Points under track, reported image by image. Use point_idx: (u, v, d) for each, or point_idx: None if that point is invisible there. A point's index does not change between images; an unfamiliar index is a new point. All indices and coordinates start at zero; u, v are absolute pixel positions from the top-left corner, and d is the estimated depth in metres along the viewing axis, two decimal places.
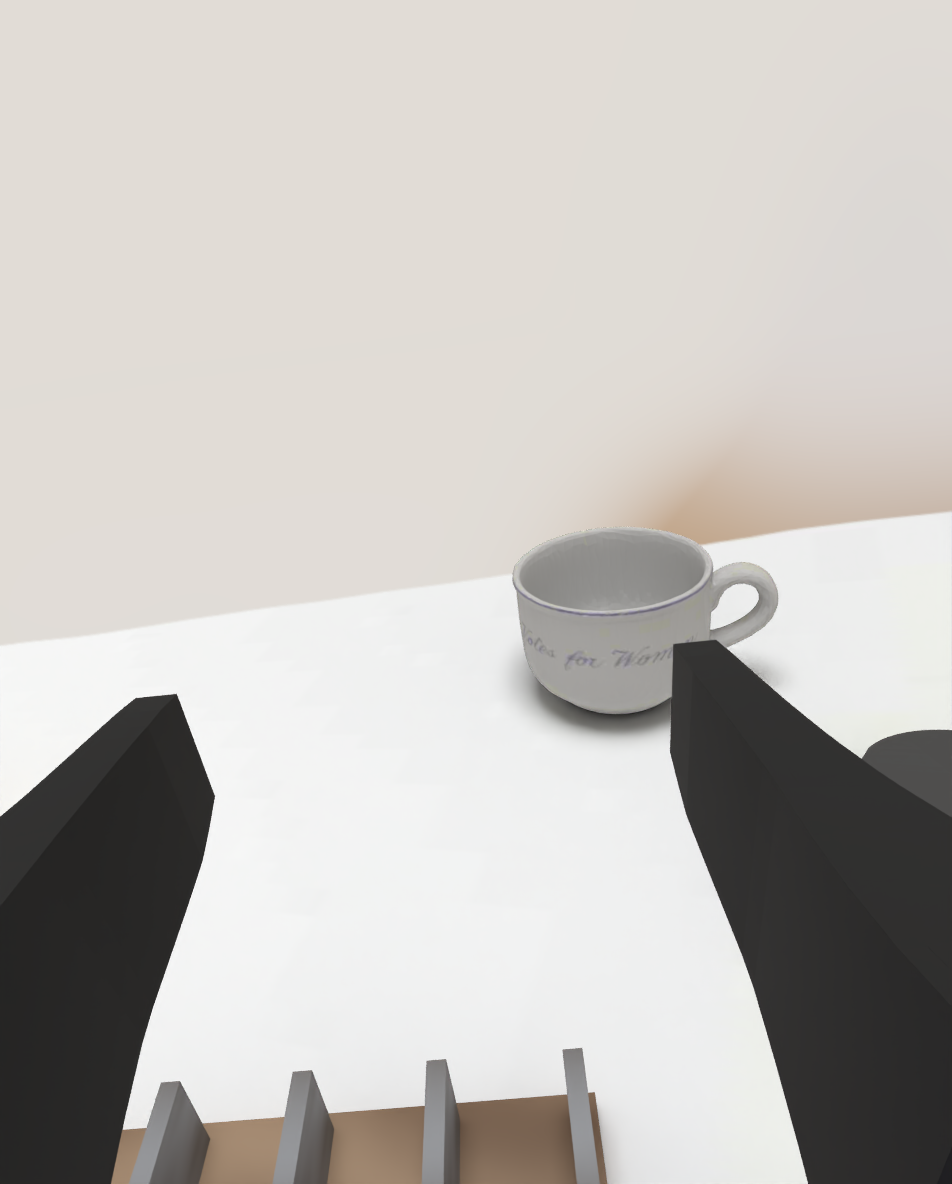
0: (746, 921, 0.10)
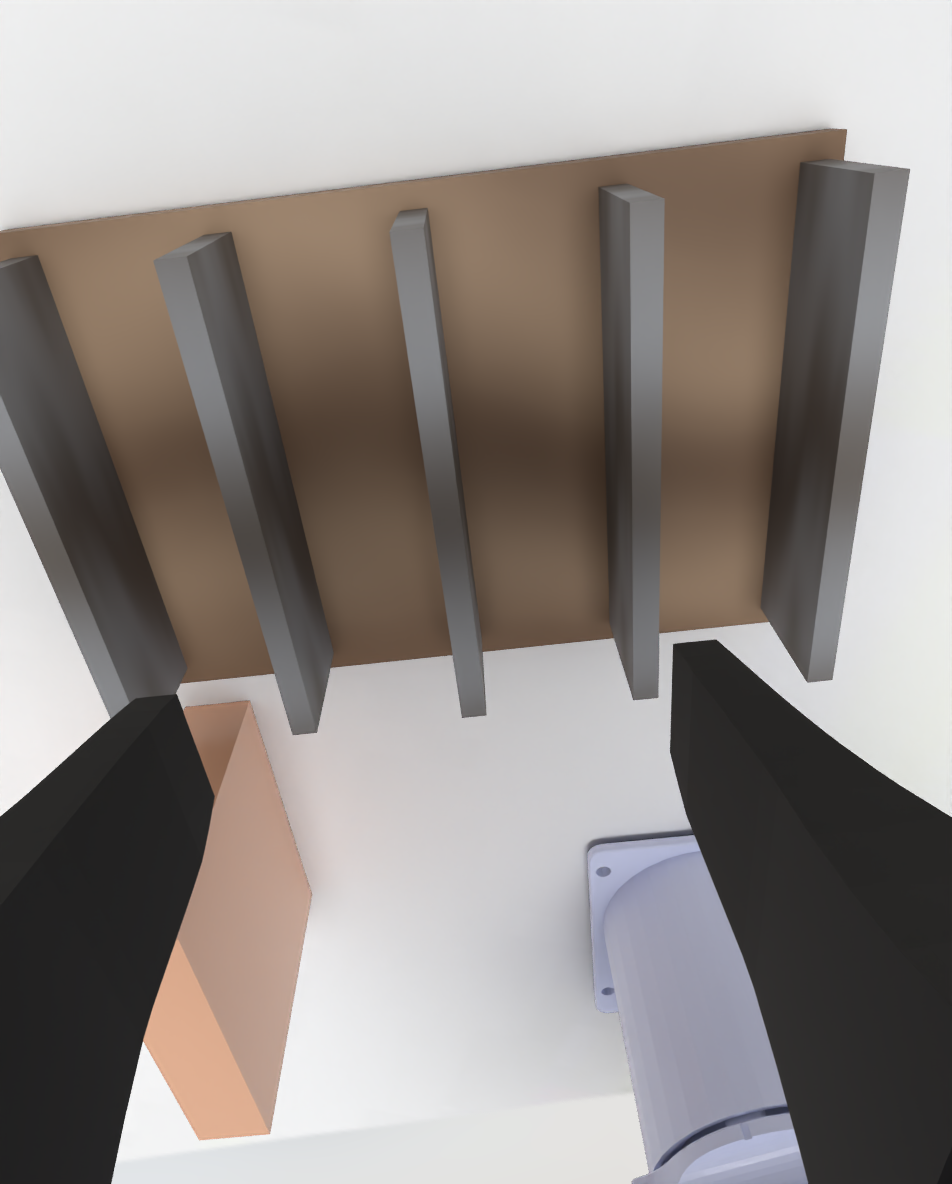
0: (746, 921, 0.10)
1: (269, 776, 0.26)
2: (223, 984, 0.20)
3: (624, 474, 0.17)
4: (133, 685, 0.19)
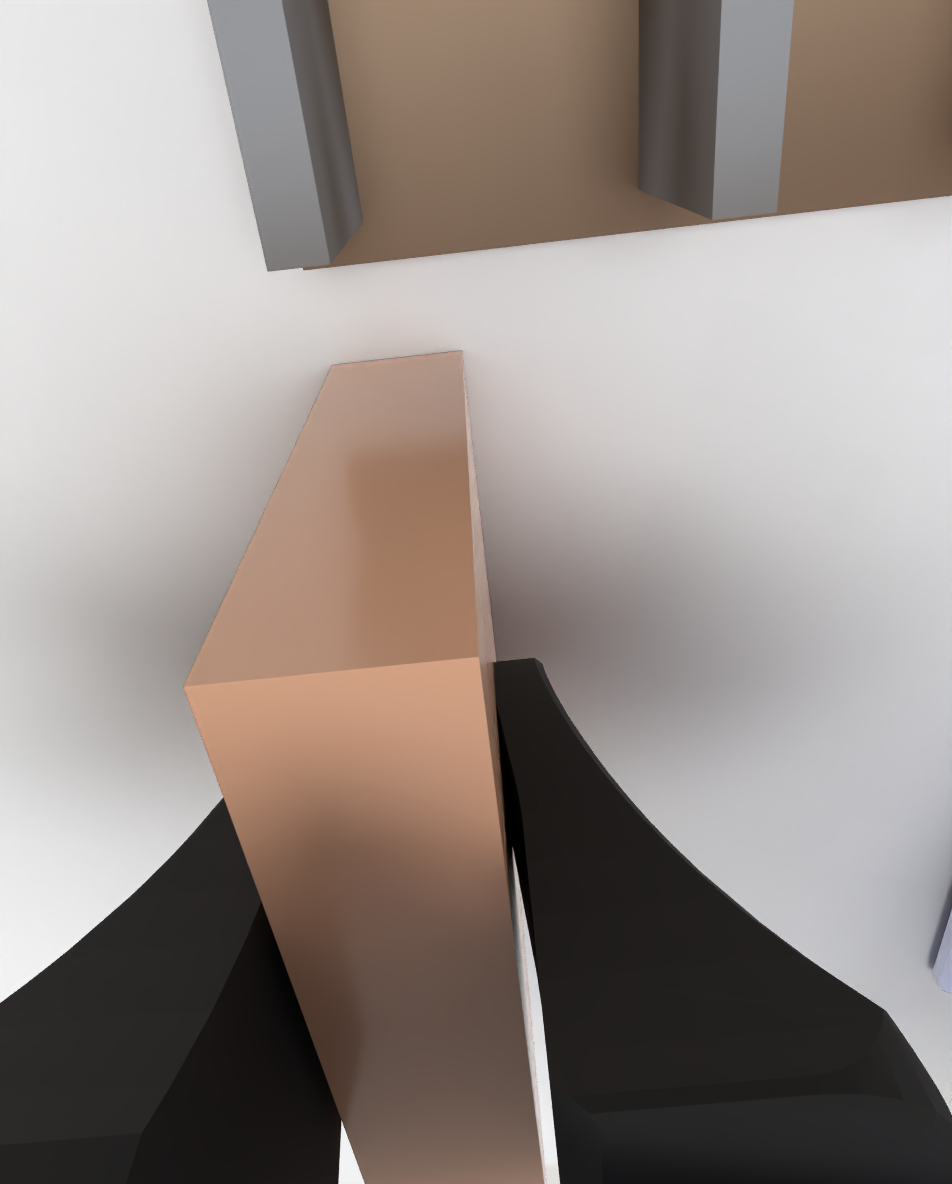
0: (533, 940, 0.10)
1: (481, 527, 0.13)
2: (511, 890, 0.08)
3: None
4: (300, 55, 0.07)
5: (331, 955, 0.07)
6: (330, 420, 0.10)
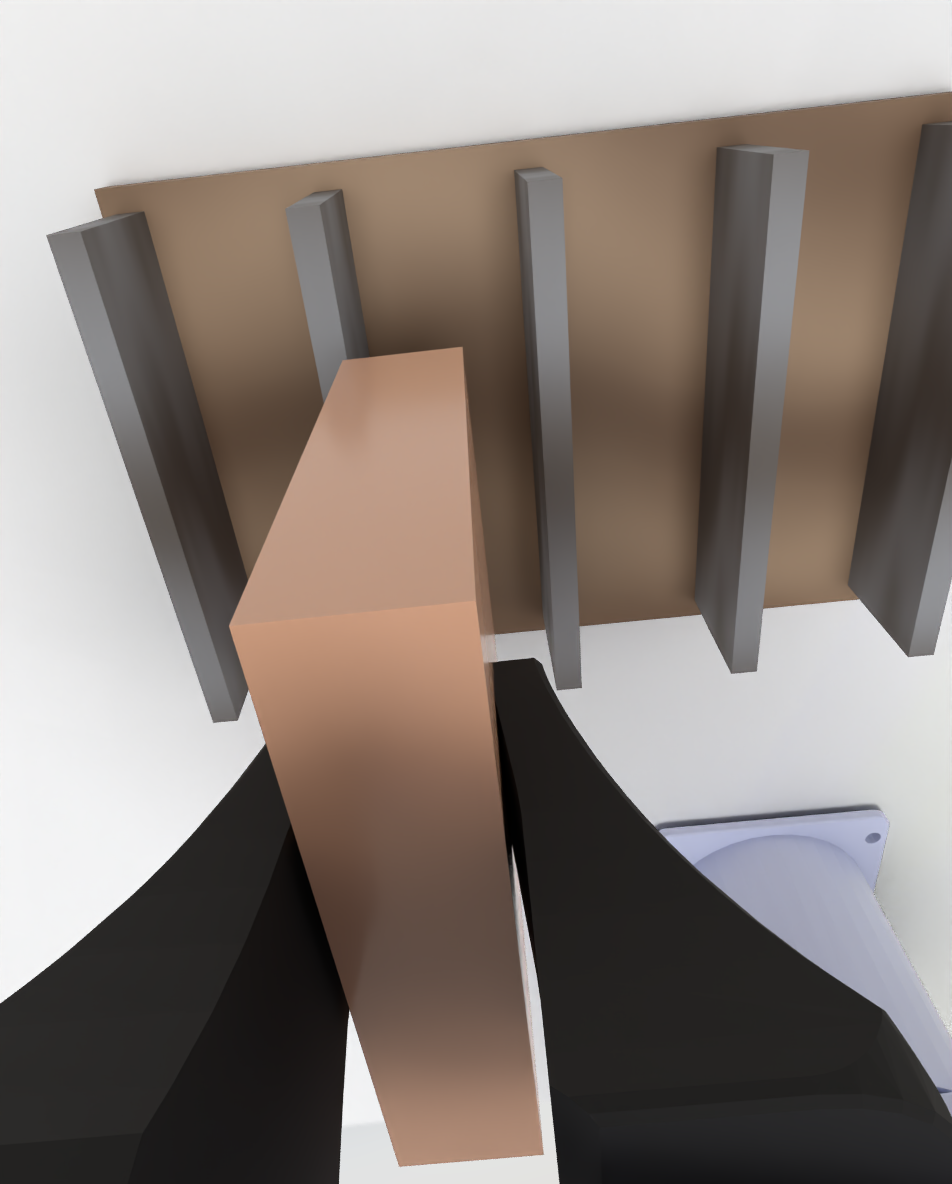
0: (533, 941, 0.10)
1: (480, 511, 0.14)
2: (505, 820, 0.09)
3: (736, 440, 0.17)
4: (224, 654, 0.19)
5: (350, 870, 0.08)
6: (343, 409, 0.11)
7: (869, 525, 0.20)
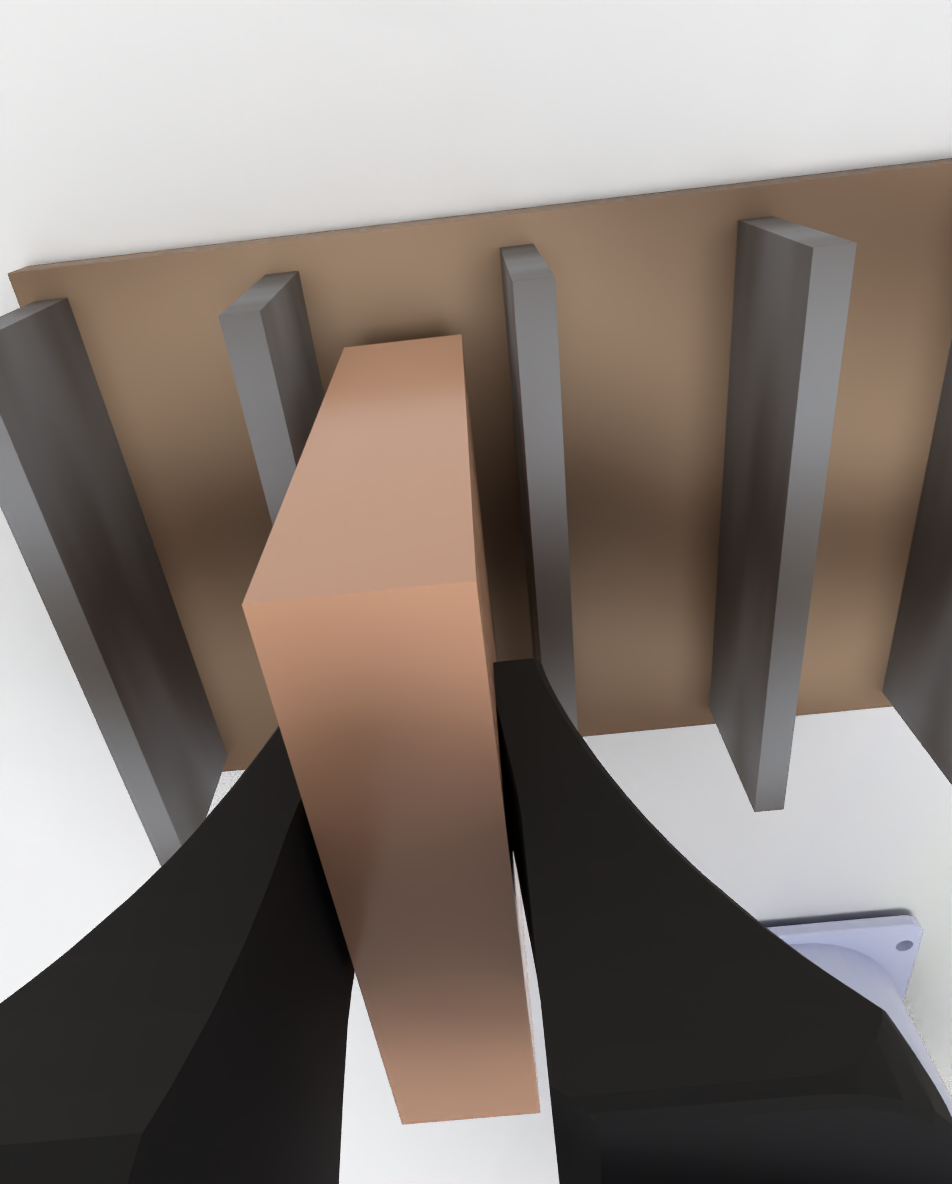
0: (532, 940, 0.10)
1: None
2: (503, 792, 0.09)
3: (762, 559, 0.15)
4: (172, 793, 0.17)
5: (355, 838, 0.08)
6: (346, 396, 0.11)
7: (909, 633, 0.18)
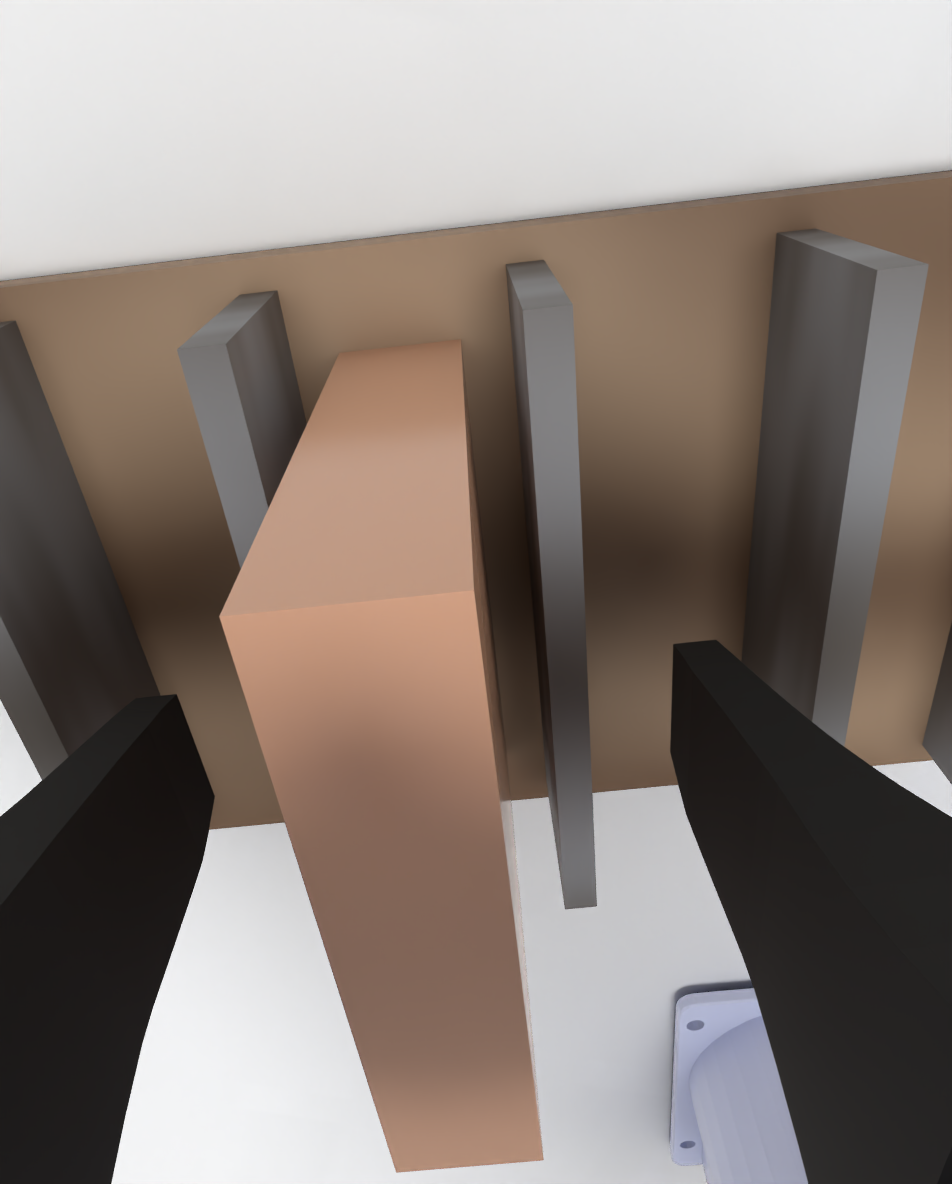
0: (746, 921, 0.10)
1: None
2: (504, 818, 0.09)
3: (802, 616, 0.13)
4: None
5: (344, 869, 0.08)
6: (339, 401, 0.11)
7: None
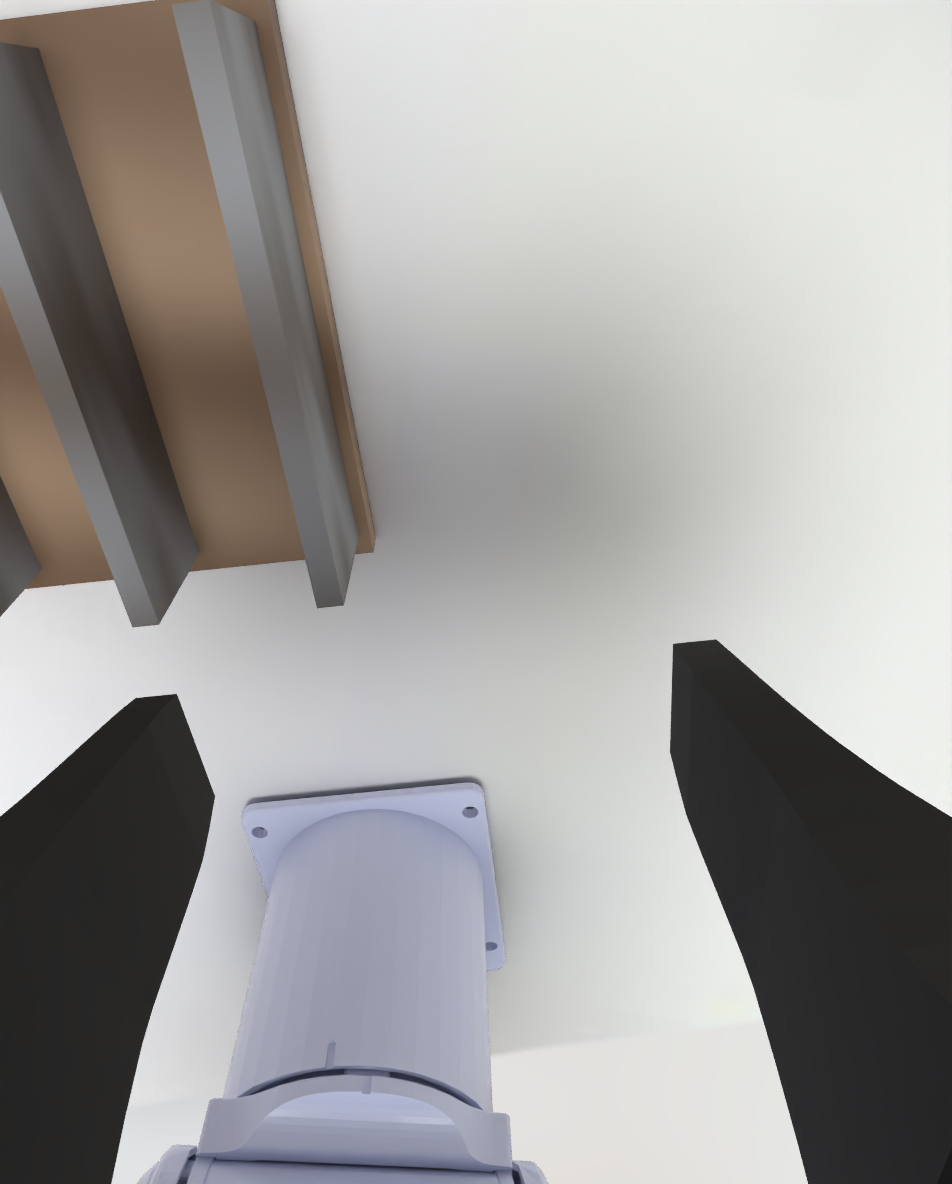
0: (746, 921, 0.10)
1: None
2: None
3: None
4: None
5: None
6: None
7: None
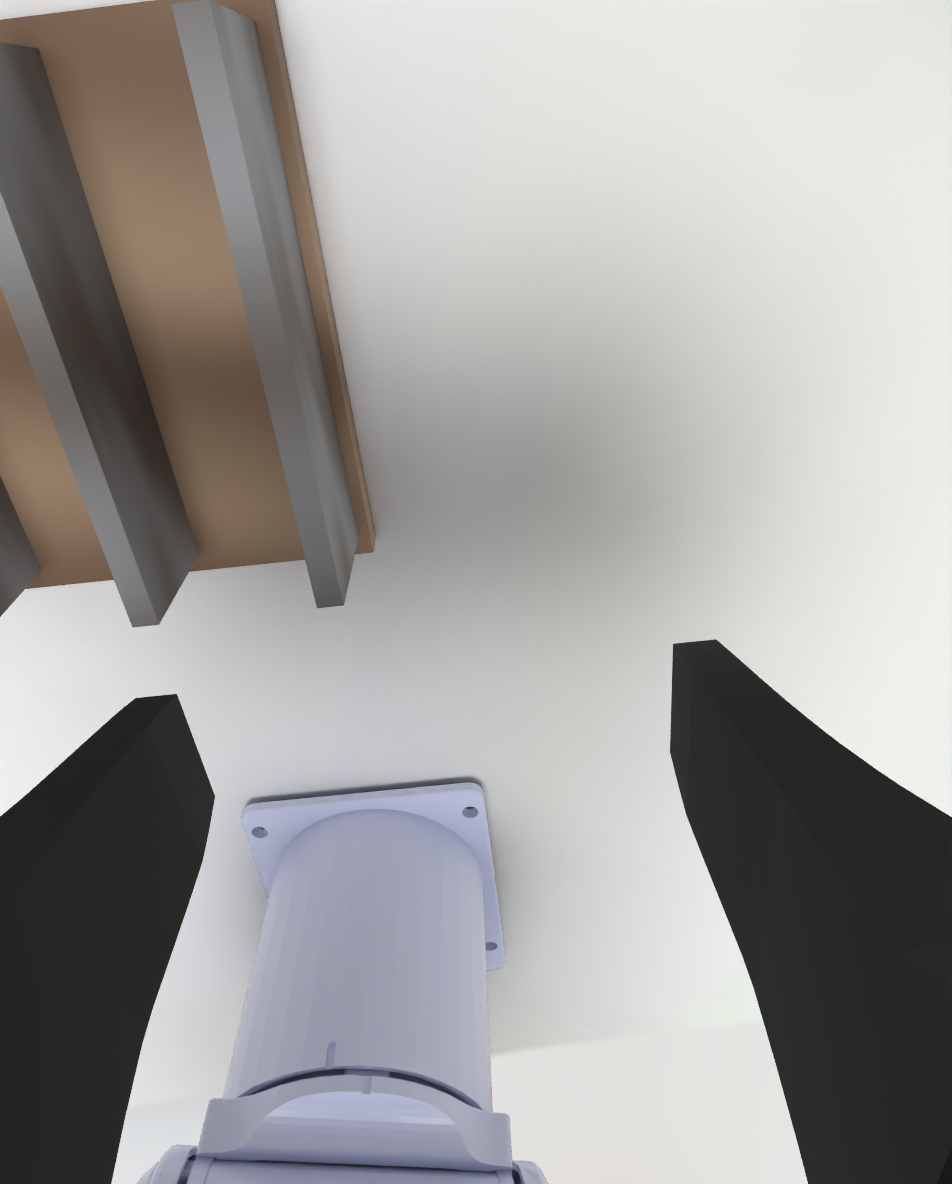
0: (746, 921, 0.10)
1: None
2: None
3: None
4: None
5: None
6: None
7: None
